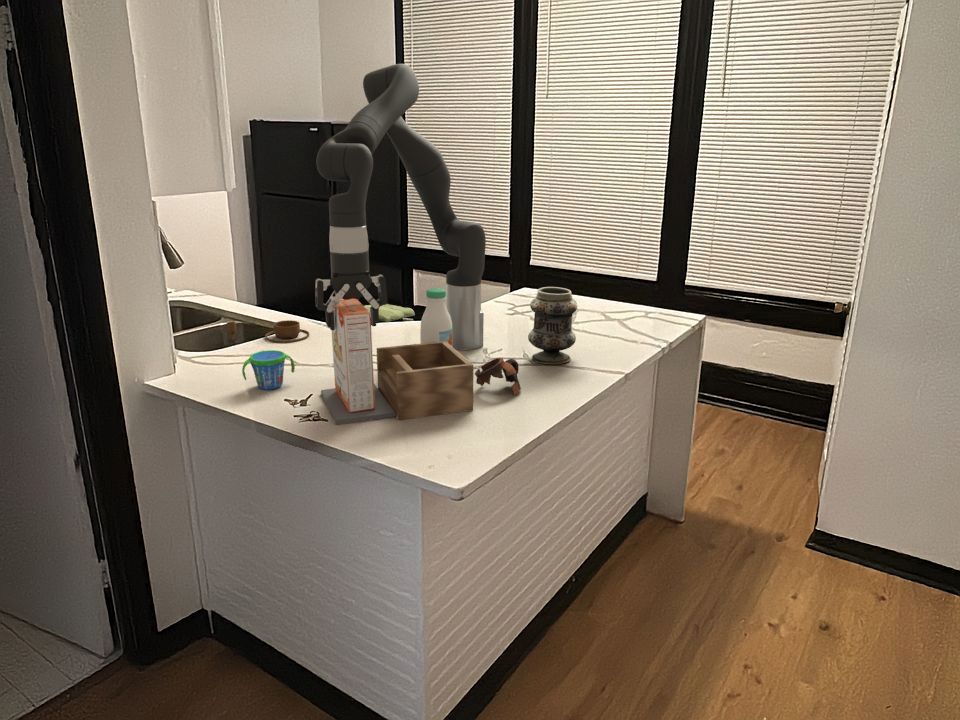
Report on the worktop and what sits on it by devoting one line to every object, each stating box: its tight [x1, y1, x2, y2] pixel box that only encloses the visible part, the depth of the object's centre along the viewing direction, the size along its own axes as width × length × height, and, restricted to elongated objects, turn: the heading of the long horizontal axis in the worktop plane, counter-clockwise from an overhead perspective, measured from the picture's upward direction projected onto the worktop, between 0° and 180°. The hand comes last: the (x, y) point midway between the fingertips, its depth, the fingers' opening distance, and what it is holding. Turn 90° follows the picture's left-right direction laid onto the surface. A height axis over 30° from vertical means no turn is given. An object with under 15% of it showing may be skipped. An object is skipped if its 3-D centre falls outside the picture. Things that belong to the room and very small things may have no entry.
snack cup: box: [241, 349, 296, 391], centre depth 162 cm, size 11×8×7 cm
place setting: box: [226, 319, 310, 344], centre depth 199 cm, size 18×20×6 cm
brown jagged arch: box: [474, 357, 522, 396], centre depth 162 cm, size 12×9×8 cm
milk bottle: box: [419, 287, 453, 347], centre depth 172 cm, size 8×8×20 cm
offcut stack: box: [386, 355, 412, 387], centre depth 153 cm, size 4×12×9 cm, turn 21°
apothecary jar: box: [527, 286, 578, 366], centre depth 181 cm, size 12×12×18 cm
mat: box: [320, 383, 396, 425], centre depth 152 cm, size 12×18×1 cm, turn 21°
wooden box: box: [376, 341, 474, 421], centre depth 154 cm, size 16×18×10 cm
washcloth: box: [363, 303, 415, 323], centre depth 223 cm, size 13×18×3 cm
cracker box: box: [331, 298, 375, 413], centre depth 149 cm, size 14×6×21 cm, turn 22°
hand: (352, 327), depth 147 cm, fingers open, 8 cm apart
